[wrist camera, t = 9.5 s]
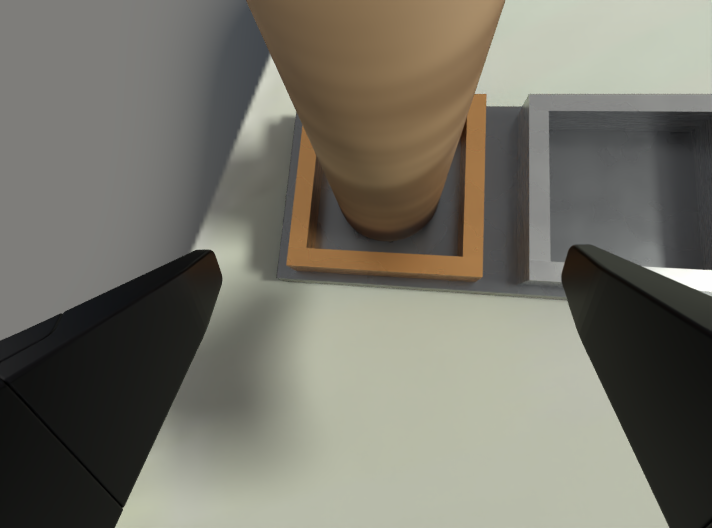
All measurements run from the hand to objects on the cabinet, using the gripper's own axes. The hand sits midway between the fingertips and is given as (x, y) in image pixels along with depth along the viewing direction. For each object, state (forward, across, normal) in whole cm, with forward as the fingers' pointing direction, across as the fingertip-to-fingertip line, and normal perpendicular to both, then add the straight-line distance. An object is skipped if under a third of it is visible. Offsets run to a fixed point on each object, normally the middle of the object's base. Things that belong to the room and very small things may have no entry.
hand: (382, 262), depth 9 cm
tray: (+9, -5, +3) cm, 11 cm away
